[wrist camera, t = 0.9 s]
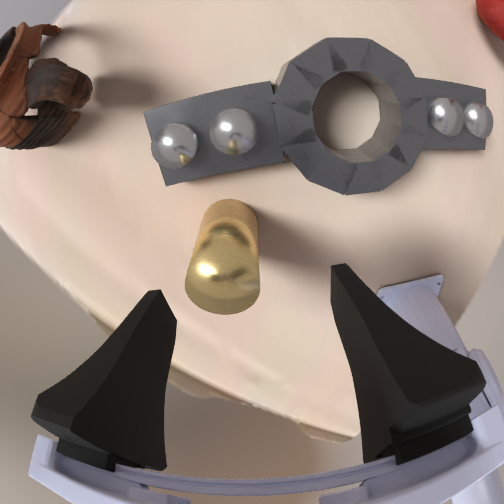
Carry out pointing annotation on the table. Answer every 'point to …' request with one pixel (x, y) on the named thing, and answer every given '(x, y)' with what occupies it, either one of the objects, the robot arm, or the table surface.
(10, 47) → the rusty ring shackle
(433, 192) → the table surface
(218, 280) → the pin
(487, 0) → the onion
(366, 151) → the studded flange bracket
